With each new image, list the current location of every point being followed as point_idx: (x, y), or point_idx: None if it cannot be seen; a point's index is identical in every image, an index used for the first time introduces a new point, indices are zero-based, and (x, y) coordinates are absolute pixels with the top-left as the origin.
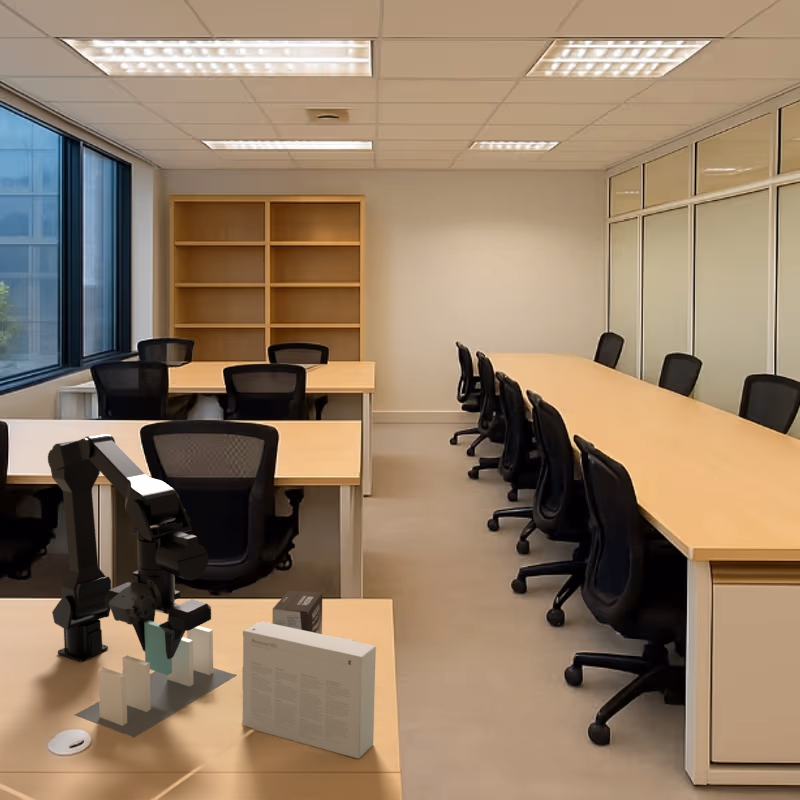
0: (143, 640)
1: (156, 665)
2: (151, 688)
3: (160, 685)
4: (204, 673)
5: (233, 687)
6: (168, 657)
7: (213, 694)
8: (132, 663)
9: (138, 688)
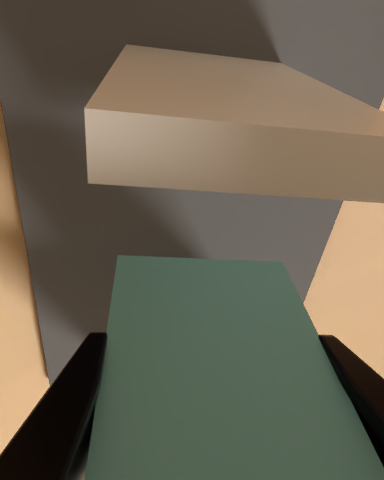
0: (365, 408)
1: (206, 281)
2: (244, 223)
3: (225, 253)
4: None
5: (7, 343)
6: (87, 340)
7: (22, 290)
8: (288, 120)
9: (184, 66)
